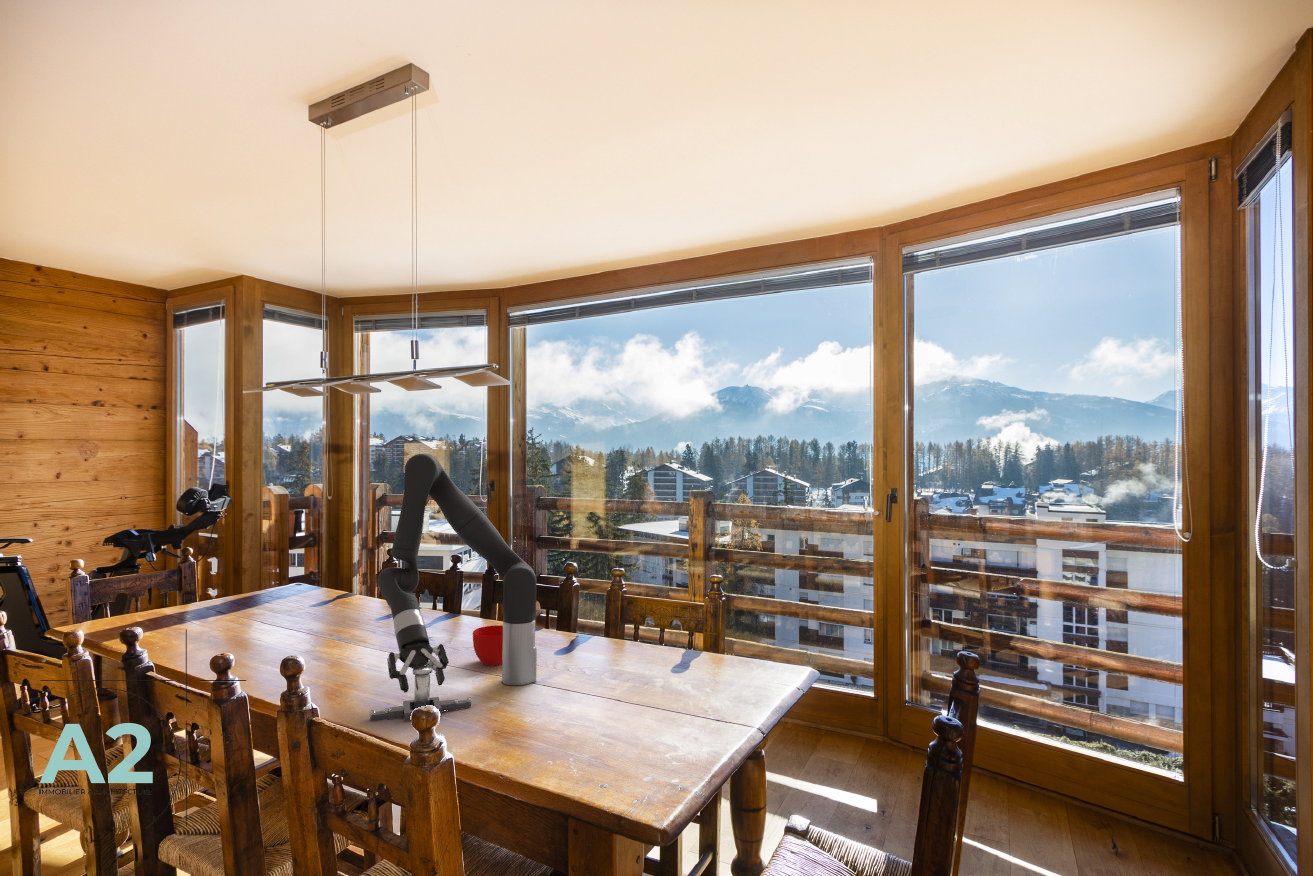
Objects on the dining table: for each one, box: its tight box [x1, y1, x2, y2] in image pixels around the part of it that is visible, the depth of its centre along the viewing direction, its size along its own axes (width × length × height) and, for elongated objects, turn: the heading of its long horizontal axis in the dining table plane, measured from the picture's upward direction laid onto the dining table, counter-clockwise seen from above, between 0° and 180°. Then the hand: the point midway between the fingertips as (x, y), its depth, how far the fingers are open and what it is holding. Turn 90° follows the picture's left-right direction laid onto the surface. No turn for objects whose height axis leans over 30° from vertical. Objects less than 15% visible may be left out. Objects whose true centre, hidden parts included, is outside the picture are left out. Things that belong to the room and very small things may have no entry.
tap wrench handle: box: [369, 696, 472, 723], centre depth 162 cm, size 24×9×2 cm, turn 113°
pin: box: [412, 665, 433, 709], centre depth 162 cm, size 5×5×11 cm
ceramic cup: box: [472, 624, 503, 666], centre depth 202 cm, size 13×17×10 cm
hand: (424, 687), depth 161 cm, fingers open, 8 cm apart
